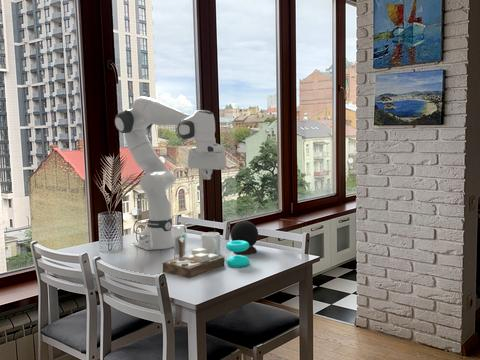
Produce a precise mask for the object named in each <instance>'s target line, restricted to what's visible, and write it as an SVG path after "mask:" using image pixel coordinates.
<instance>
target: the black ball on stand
mask: <svg viewBox="0 0 480 360" xmlns="http://www.w3.org/2000/svg"><path fill="white" fill-rule="evenodd" d="M258 238H259V230H258V228H257V226H256V225H255V224H254V223H252V221H249V220H241V221H240V220H239V221H238V222H236V223H235V224H234V225H233V226H232V228H231V230H230V239H231V241H236V240H242V241H246V242H248V243H249V248H248V249H247V250H245V251H242V252H233V254H235V255H243V256H247V255H253V254H256V253H257V251H258V250H257V249H256V247H255V244H256V243H257V241H258Z"/></svg>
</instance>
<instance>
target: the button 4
mask: <svg viewBox="0 0 480 360" xmlns="http://www.w3.org/2000/svg"><path fill="white" fill-rule="evenodd" d="M208 256H209V259H214V258H218V255H217V254H211V253H210V254H208Z"/></svg>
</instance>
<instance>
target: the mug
mask: <svg viewBox="0 0 480 360" xmlns="http://www.w3.org/2000/svg"><path fill="white" fill-rule="evenodd" d="M220 235H221V233H219V232H217V231H216V232H215V231H208V232H204V233H202V234H201V242H202V243H201V248H203V249H206V252H207V254H210V253H211V254H217V255H218V256H221V238H220V237H221V236H220Z"/></svg>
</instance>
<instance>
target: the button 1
mask: <svg viewBox="0 0 480 360" xmlns="http://www.w3.org/2000/svg"><path fill="white" fill-rule="evenodd" d="M182 258H184V259H186V260H192V259H194V255H192V253H189V254H187V255H185V256H182Z"/></svg>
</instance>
